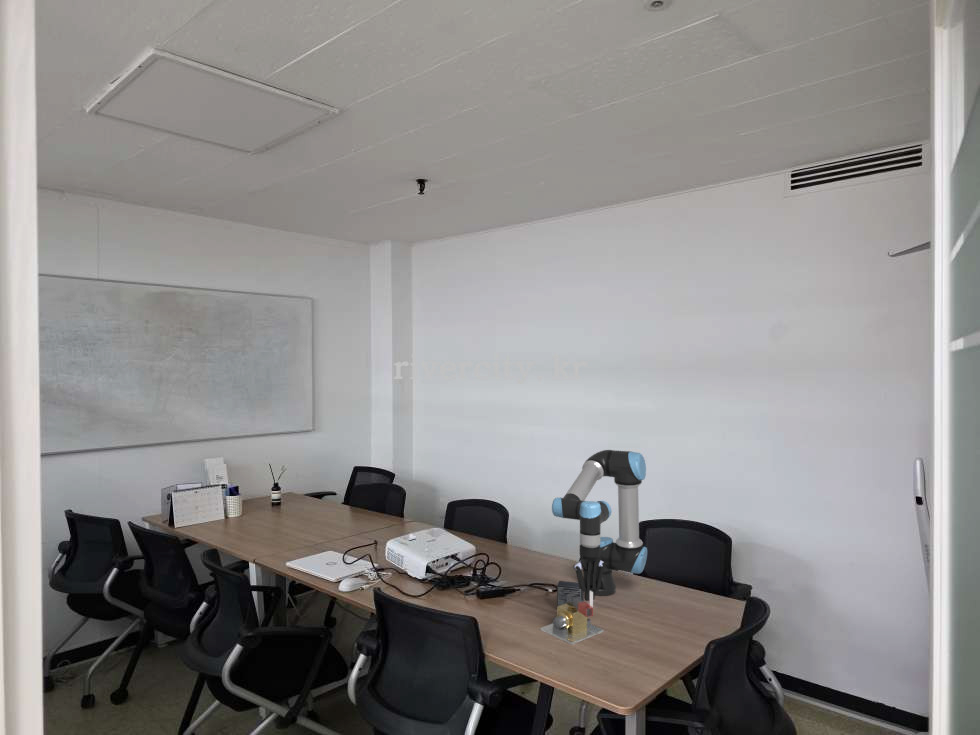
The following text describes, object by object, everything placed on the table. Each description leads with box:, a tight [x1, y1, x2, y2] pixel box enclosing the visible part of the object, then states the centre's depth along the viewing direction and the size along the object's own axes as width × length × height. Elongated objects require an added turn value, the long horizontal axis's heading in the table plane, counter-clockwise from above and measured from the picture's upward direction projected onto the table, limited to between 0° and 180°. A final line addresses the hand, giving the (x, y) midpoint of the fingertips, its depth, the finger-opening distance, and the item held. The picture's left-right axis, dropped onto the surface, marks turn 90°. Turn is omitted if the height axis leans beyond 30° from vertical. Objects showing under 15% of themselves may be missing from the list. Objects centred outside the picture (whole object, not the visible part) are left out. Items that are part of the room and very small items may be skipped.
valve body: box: [539, 603, 605, 646], centre depth 237 cm, size 18×16×10 cm
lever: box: [567, 594, 594, 618], centre depth 232 cm, size 15×4×3 cm, turn 20°
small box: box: [556, 580, 585, 607], centre depth 259 cm, size 11×6×10 cm, turn 74°
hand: (589, 608), depth 229 cm, fingers closed
